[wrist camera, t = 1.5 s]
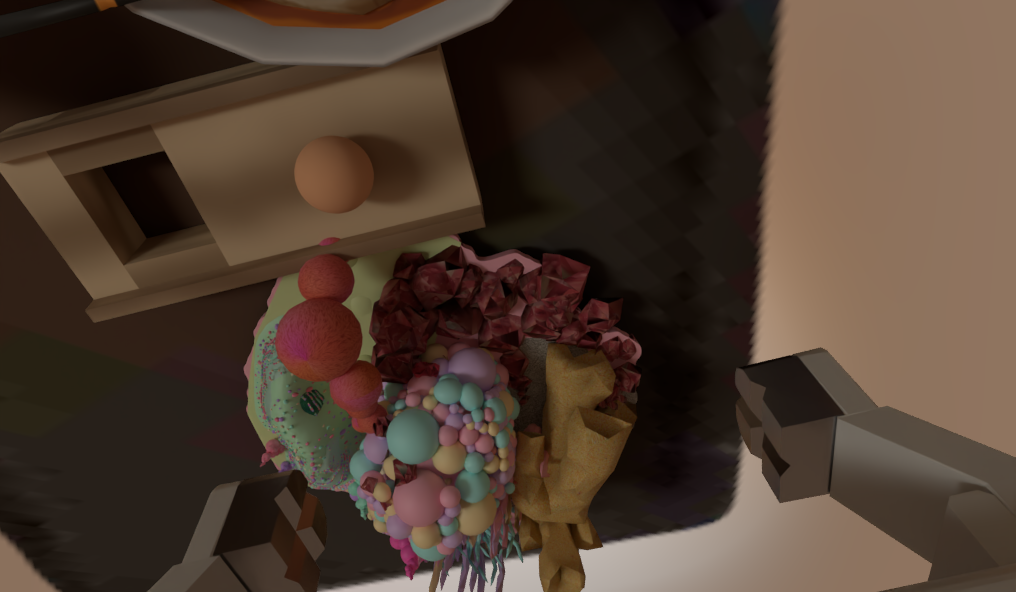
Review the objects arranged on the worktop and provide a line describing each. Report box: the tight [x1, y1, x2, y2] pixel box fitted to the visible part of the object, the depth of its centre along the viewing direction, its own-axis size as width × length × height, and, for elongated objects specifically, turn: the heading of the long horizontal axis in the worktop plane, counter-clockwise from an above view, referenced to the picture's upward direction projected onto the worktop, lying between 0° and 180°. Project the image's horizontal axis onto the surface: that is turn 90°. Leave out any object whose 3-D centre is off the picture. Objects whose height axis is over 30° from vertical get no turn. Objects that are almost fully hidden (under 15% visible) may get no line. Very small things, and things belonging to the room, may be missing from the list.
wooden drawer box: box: [0, 44, 486, 322], centre depth 30 cm, size 10×21×4 cm, turn 103°
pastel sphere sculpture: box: [244, 234, 641, 592], centre depth 36 cm, size 25×24×9 cm
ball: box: [294, 136, 374, 214], centre depth 28 cm, size 4×4×4 cm
